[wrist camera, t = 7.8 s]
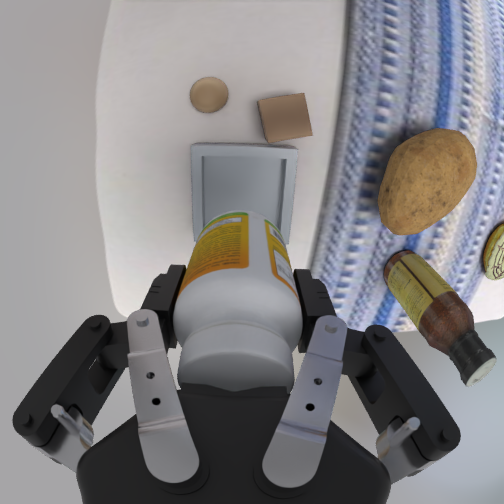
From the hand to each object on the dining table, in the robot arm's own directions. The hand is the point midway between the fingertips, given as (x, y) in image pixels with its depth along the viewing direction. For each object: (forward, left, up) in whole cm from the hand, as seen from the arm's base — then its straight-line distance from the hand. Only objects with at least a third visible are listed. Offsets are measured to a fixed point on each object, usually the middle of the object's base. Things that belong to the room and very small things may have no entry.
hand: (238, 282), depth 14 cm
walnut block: (-8, +3, -17) cm, 19 cm away
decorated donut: (+5, +44, -17) cm, 48 cm away
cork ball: (-10, -4, -15) cm, 18 cm away
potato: (-4, +19, -17) cm, 26 cm away
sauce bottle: (+9, +22, -17) cm, 29 cm away
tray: (0, 0, -17) cm, 17 cm away
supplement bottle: (0, 0, -4) cm, 4 cm away
